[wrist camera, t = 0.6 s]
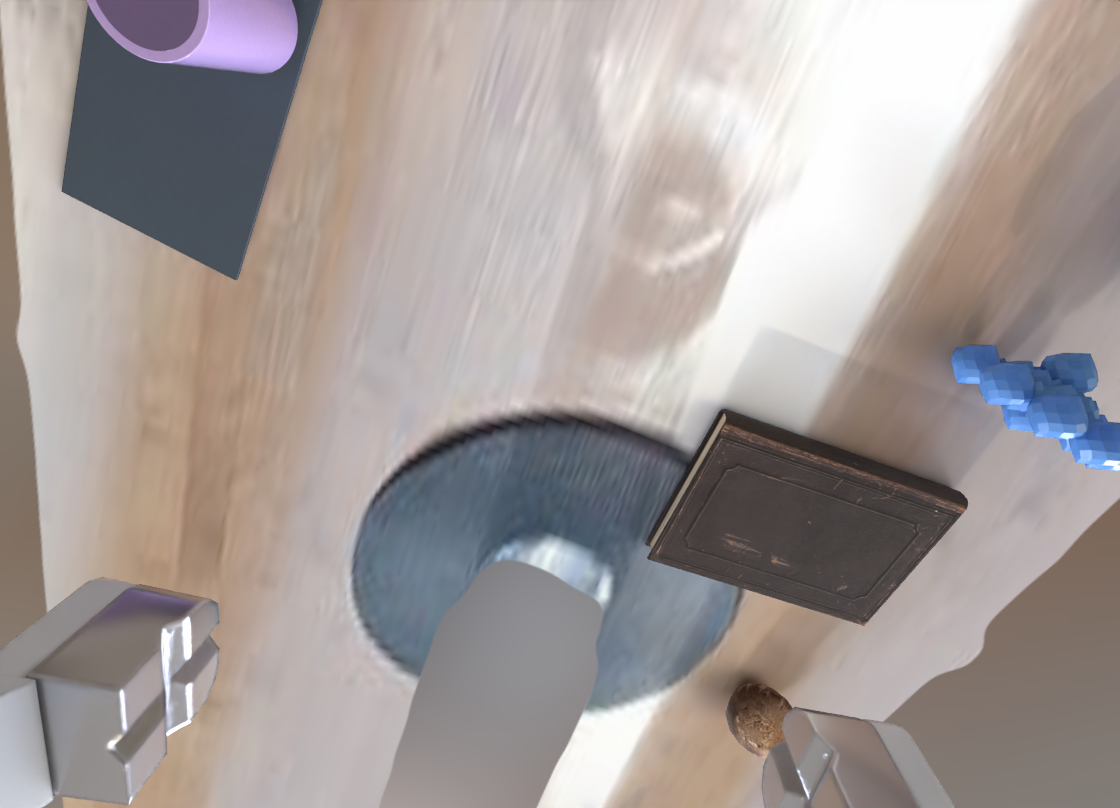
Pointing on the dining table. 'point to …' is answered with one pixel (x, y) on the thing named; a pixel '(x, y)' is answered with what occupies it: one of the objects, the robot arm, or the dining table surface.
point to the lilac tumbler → (203, 31)
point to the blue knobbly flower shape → (1045, 400)
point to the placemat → (179, 143)
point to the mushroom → (757, 717)
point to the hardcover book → (800, 519)
